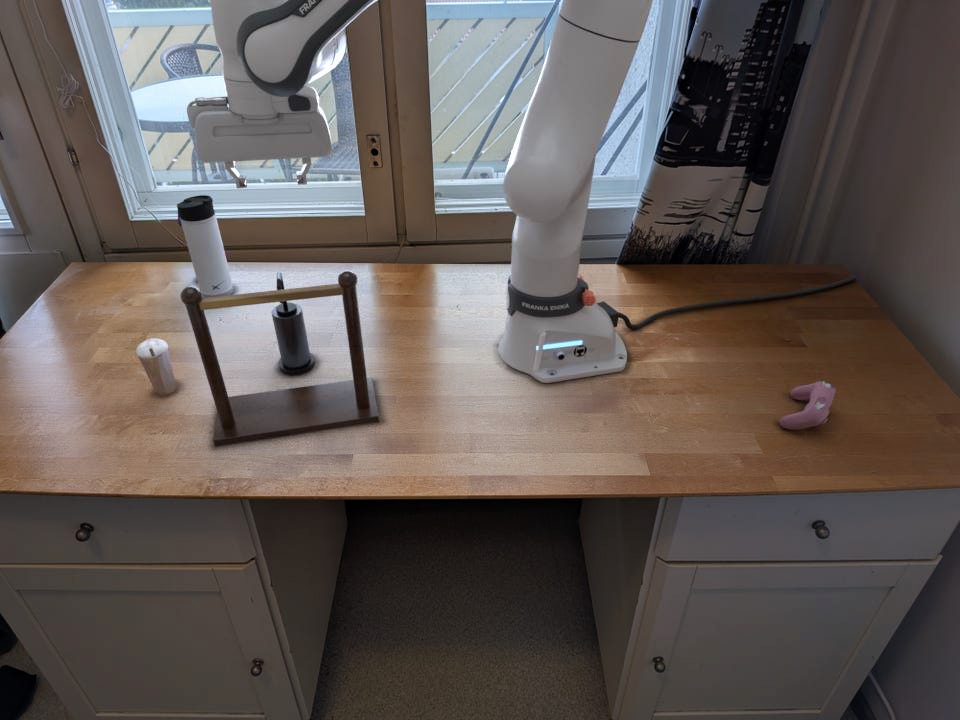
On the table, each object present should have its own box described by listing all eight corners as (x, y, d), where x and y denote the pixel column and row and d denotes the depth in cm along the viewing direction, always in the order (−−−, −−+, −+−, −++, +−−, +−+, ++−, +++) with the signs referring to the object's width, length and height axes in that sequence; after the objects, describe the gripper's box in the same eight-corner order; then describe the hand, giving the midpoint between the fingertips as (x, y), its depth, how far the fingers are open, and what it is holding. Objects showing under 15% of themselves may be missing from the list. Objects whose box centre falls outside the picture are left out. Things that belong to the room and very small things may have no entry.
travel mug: (225, 302, 128) (201, 206, 116) (195, 298, 129) (167, 203, 118) (241, 287, 133) (219, 193, 121) (211, 283, 134) (187, 190, 123)
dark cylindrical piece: (279, 357, 113) (259, 263, 102) (314, 353, 114) (298, 259, 103) (279, 386, 106) (257, 288, 96) (316, 381, 108) (299, 284, 97)
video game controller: (800, 444, 98) (836, 420, 93) (775, 424, 99) (810, 399, 94) (811, 409, 105) (845, 385, 100) (788, 390, 106) (821, 365, 101)
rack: (220, 404, 103) (179, 264, 88) (372, 383, 107) (357, 247, 93) (214, 446, 95) (169, 300, 80) (379, 421, 99) (363, 280, 85)
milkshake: (153, 404, 102) (133, 352, 97) (149, 385, 106) (131, 334, 100) (183, 395, 104) (166, 344, 98) (179, 378, 108) (162, 327, 102)
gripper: (181, 103, 92) (202, 196, 100) (327, 99, 96) (337, 188, 105) (186, 92, 97) (206, 182, 105) (325, 88, 101) (334, 174, 110)
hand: (272, 185), depth 105 cm, fingers open, 8 cm apart
